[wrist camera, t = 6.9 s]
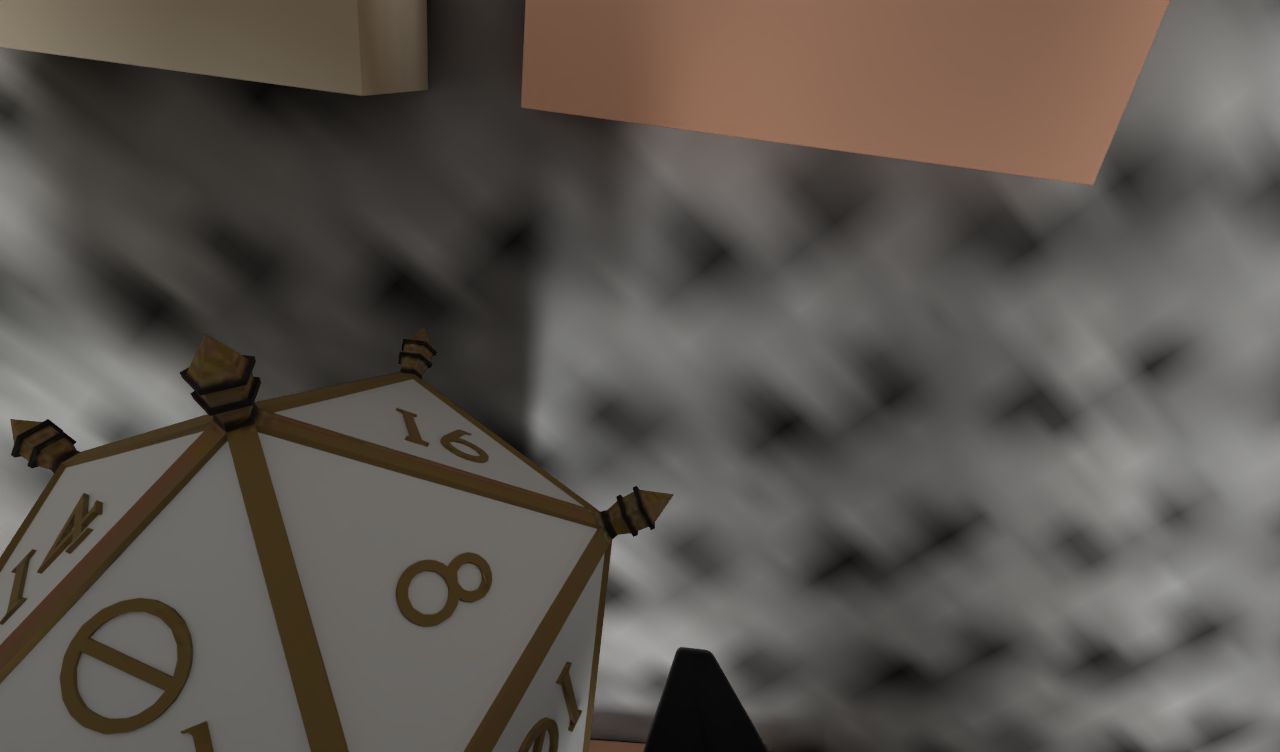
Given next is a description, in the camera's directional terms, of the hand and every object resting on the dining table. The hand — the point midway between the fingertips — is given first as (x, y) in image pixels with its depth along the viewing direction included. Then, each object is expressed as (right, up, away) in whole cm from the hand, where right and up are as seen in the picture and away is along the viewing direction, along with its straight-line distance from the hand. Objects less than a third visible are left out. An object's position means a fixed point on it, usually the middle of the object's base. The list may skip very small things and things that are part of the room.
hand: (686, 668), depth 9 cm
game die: (-5, +2, +3) cm, 6 cm away
